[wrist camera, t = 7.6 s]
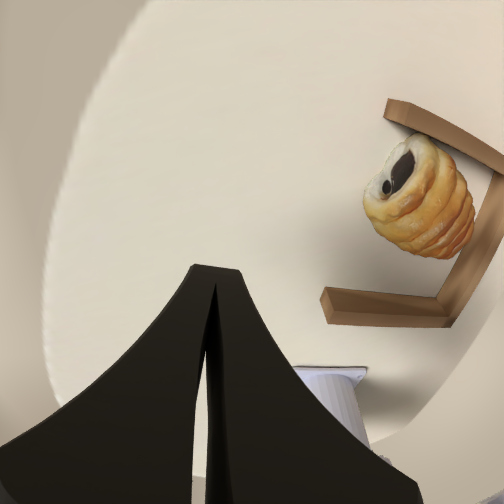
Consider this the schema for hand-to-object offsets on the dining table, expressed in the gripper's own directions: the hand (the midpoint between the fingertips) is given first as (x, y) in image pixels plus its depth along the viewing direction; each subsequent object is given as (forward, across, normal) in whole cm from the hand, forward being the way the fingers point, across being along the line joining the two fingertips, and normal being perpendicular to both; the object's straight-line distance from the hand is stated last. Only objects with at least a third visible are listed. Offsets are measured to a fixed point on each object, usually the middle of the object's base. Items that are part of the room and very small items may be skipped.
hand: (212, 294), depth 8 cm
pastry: (+10, -12, -2) cm, 16 cm away
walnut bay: (+9, -14, 0) cm, 16 cm away
